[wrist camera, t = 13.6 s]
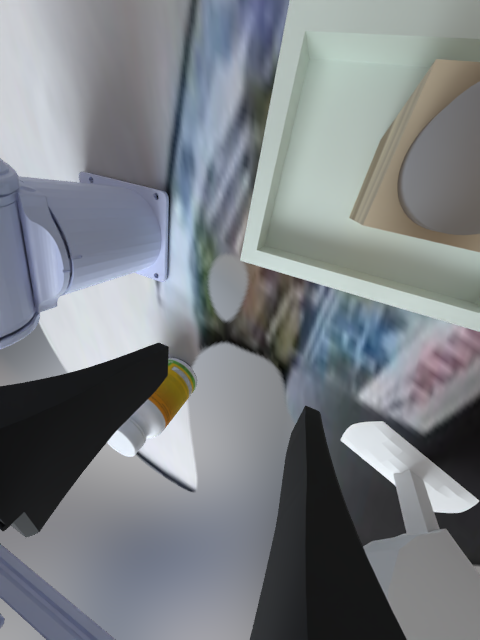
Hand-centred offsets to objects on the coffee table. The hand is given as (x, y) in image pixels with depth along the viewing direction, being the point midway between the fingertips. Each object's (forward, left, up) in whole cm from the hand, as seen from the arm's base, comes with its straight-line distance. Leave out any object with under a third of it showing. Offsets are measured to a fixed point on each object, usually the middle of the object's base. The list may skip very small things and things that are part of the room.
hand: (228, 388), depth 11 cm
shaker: (+5, +10, -10) cm, 15 cm away
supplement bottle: (-9, -13, -11) cm, 19 cm away
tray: (+5, +10, -10) cm, 15 cm away
